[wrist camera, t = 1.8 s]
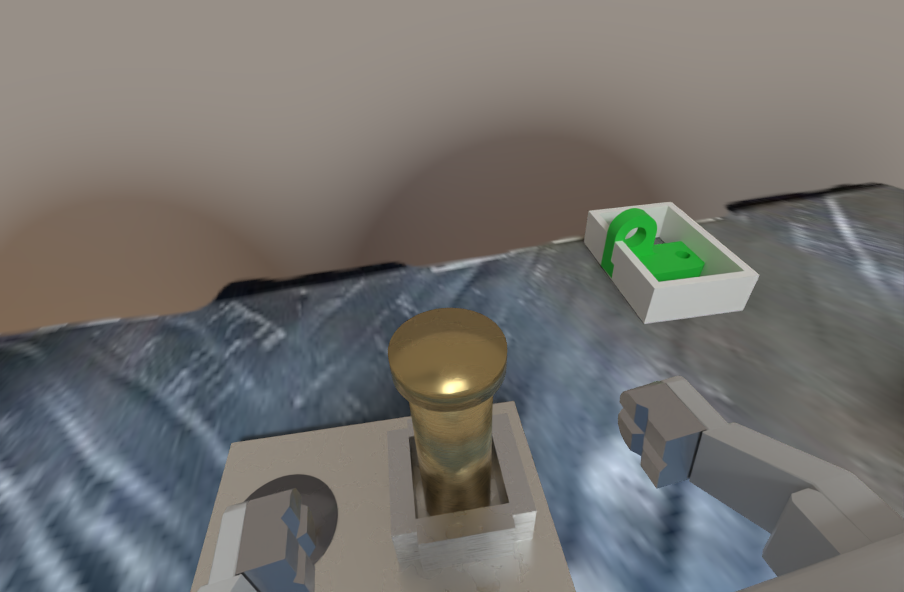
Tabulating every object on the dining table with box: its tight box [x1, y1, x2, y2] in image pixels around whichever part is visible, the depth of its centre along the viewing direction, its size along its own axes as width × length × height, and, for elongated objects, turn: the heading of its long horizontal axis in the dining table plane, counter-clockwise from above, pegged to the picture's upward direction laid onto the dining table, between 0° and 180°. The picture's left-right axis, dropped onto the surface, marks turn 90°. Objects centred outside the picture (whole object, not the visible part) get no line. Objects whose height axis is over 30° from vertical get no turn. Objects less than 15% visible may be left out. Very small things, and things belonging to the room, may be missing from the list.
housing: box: [190, 401, 576, 592], centre depth 33 cm, size 25×16×6 cm, turn 99°
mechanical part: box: [601, 208, 705, 282], centre depth 55 cm, size 12×6×8 cm, turn 101°
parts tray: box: [584, 202, 759, 324], centre depth 56 cm, size 12×18×5 cm, turn 9°
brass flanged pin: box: [388, 308, 507, 516], centre depth 29 cm, size 6×6×16 cm
